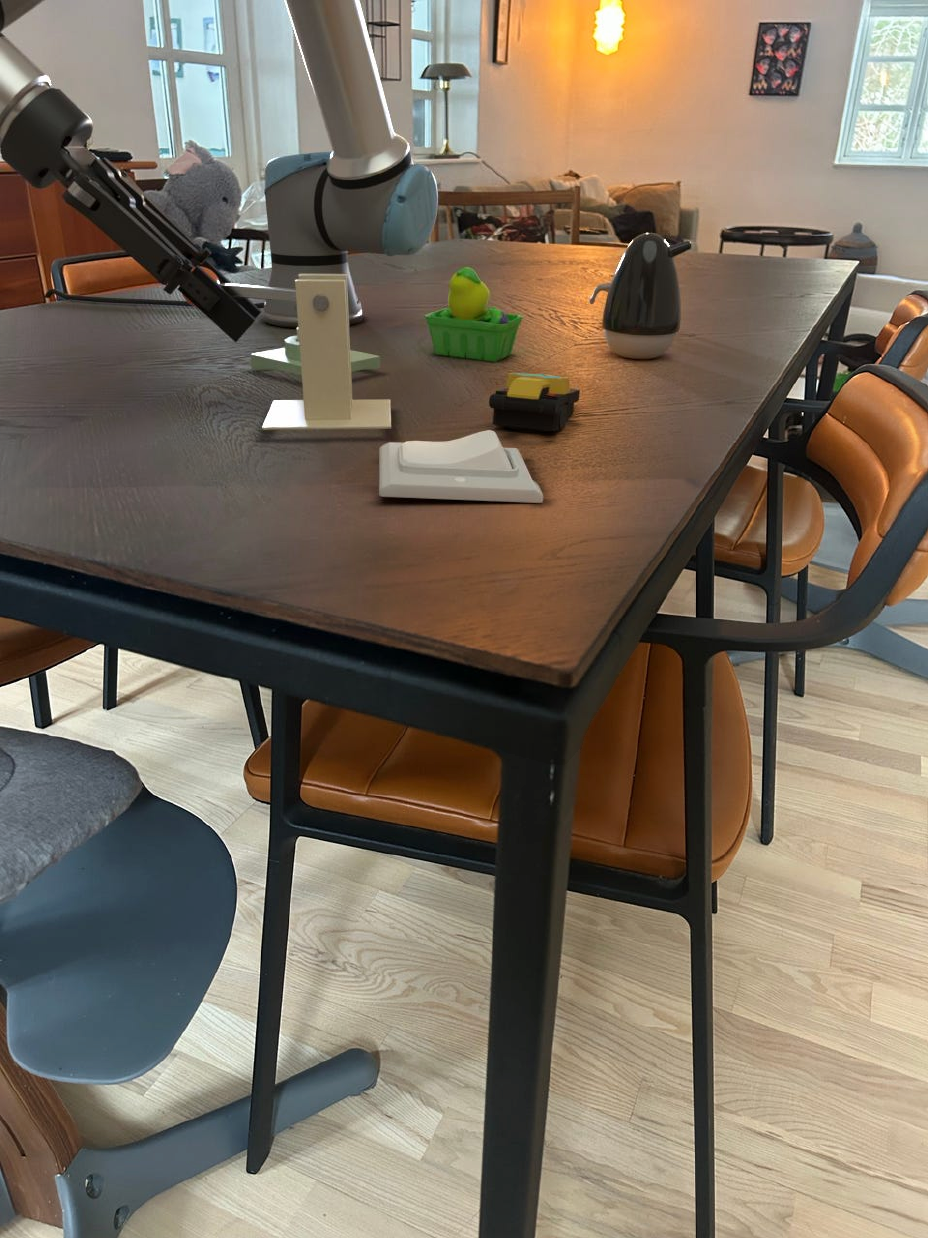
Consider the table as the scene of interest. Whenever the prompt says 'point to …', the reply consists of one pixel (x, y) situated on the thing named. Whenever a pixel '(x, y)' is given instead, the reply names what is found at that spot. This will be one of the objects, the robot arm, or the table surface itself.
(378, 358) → the button block
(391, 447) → the light switch
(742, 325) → the table surface
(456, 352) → the fruit basket
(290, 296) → the lever
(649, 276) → the pump dispenser
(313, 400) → the bracket
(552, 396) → the gadget
